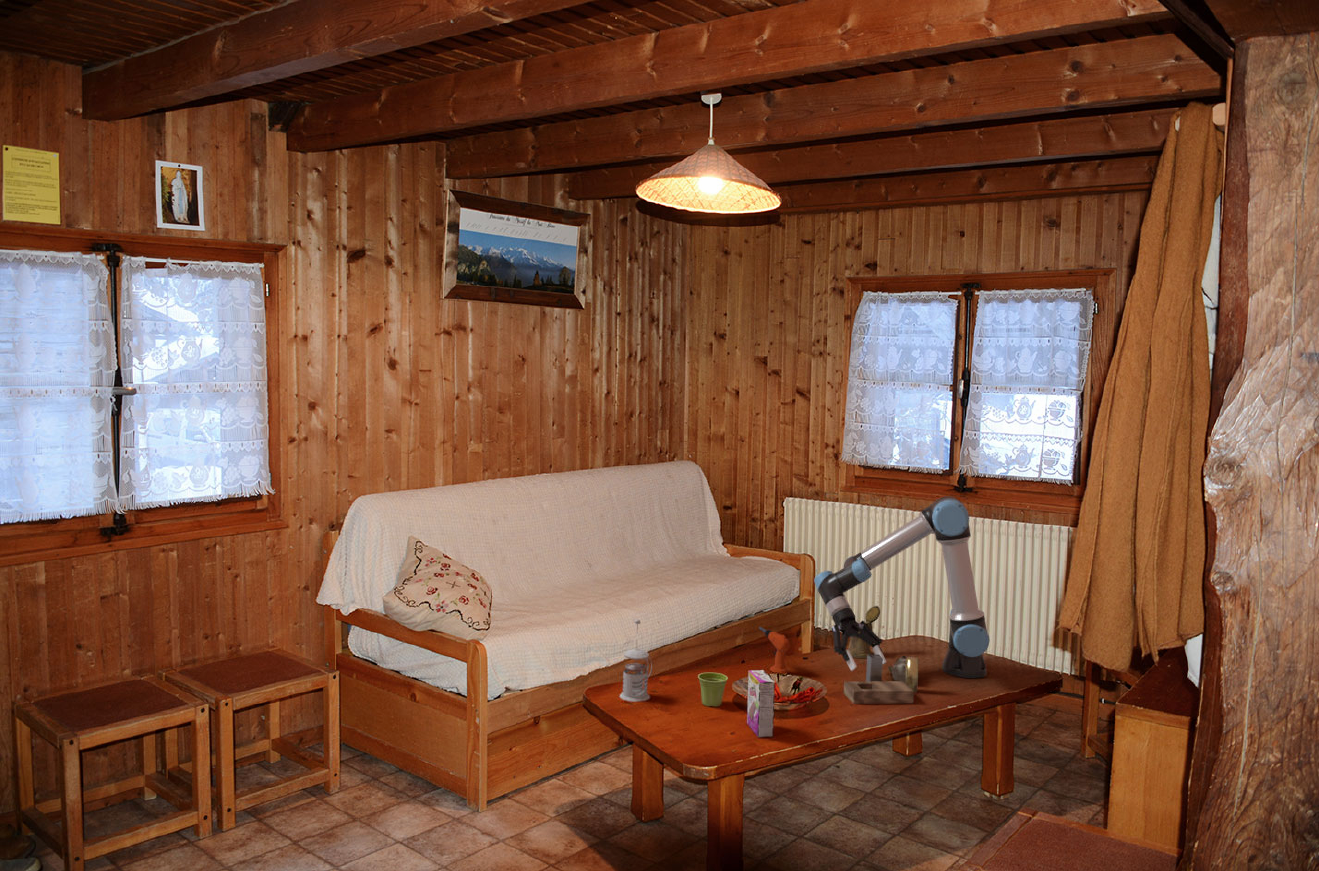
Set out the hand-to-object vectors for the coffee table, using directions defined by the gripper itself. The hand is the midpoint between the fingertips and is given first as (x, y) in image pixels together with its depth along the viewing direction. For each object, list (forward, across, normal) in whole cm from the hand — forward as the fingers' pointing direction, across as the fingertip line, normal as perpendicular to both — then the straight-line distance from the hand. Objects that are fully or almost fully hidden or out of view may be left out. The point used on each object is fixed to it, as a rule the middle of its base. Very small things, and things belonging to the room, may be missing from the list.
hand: (869, 666), depth 326 cm
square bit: (+6, -1, -4) cm, 7 cm away
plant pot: (-1, +58, -12) cm, 59 cm away
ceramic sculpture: (+4, -18, -6) cm, 19 cm away
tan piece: (-16, -26, -26) cm, 40 cm away
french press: (-13, +75, -24) cm, 80 cm away
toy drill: (-16, +18, -26) cm, 36 cm away
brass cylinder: (+12, -10, +2) cm, 16 cm away
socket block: (+12, +5, +2) cm, 13 cm away
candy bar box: (+16, +58, +6) cm, 61 cm away
